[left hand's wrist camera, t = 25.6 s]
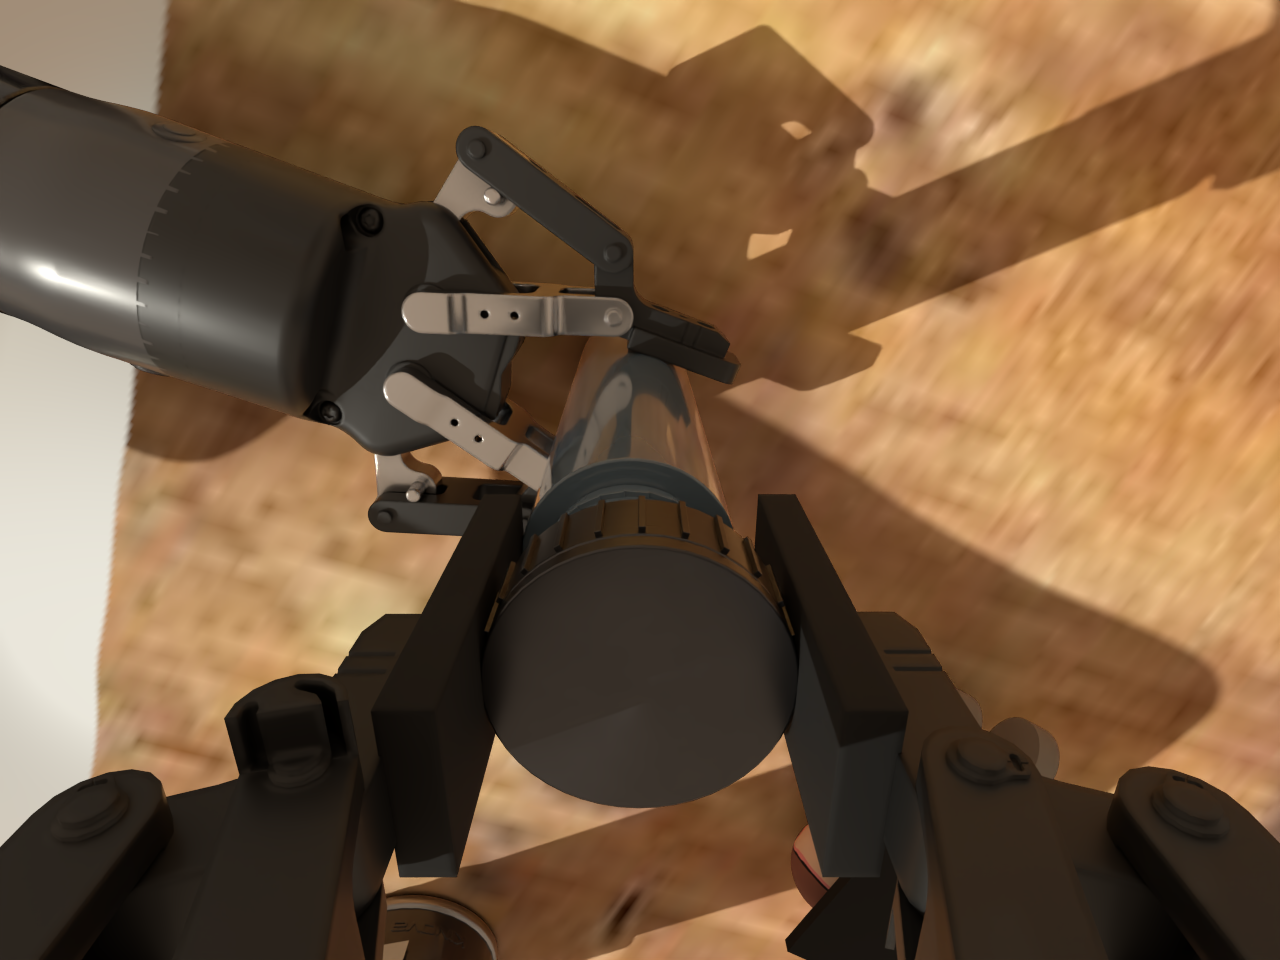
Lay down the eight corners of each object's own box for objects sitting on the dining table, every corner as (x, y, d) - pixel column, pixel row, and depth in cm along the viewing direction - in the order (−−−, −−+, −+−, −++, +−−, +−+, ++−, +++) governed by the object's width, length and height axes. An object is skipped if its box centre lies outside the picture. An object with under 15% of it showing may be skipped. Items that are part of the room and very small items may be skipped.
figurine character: (900, 629, 37) (751, 843, 40) (976, 718, 29) (787, 970, 33) (1000, 680, 38) (849, 883, 41) (1097, 776, 31) (903, 1014, 34)
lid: (446, 554, 12) (415, 609, 10) (728, 450, 11) (743, 491, 10) (566, 770, 14) (556, 846, 12) (817, 691, 13) (842, 760, 11)
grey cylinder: (673, 307, 29) (731, 468, 12) (690, 407, 31) (762, 676, 14) (570, 326, 29) (481, 511, 12) (592, 425, 31) (540, 710, 14)
